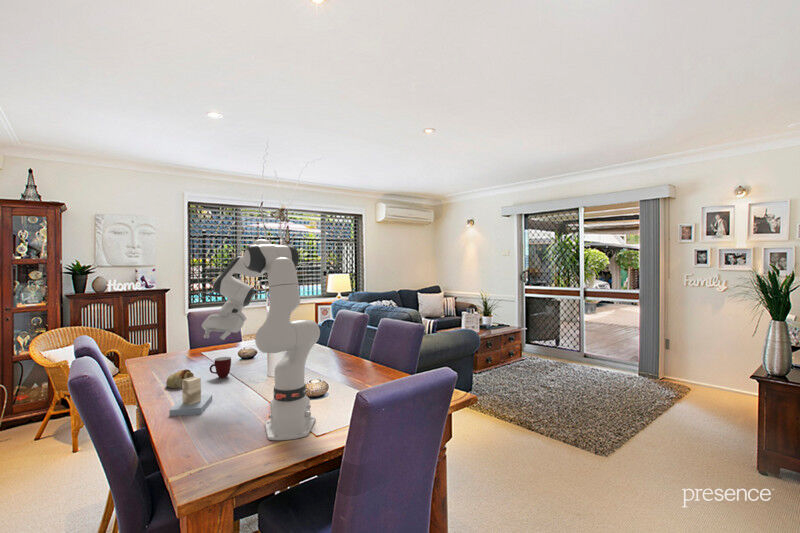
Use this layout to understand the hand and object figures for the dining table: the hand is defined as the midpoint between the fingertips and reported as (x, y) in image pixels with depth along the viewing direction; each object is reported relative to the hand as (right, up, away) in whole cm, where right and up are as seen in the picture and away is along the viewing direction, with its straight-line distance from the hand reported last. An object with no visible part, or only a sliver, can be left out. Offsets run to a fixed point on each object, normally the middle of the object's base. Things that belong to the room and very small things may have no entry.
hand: (213, 338), depth 182 cm
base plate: (-4, -28, -11) cm, 31 cm away
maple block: (-4, -25, -11) cm, 28 cm away
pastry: (-26, -28, +20) cm, 43 cm away
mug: (-11, -27, +32) cm, 44 cm away
